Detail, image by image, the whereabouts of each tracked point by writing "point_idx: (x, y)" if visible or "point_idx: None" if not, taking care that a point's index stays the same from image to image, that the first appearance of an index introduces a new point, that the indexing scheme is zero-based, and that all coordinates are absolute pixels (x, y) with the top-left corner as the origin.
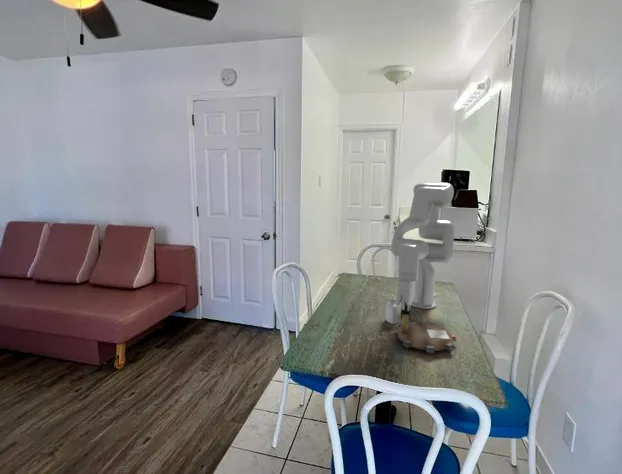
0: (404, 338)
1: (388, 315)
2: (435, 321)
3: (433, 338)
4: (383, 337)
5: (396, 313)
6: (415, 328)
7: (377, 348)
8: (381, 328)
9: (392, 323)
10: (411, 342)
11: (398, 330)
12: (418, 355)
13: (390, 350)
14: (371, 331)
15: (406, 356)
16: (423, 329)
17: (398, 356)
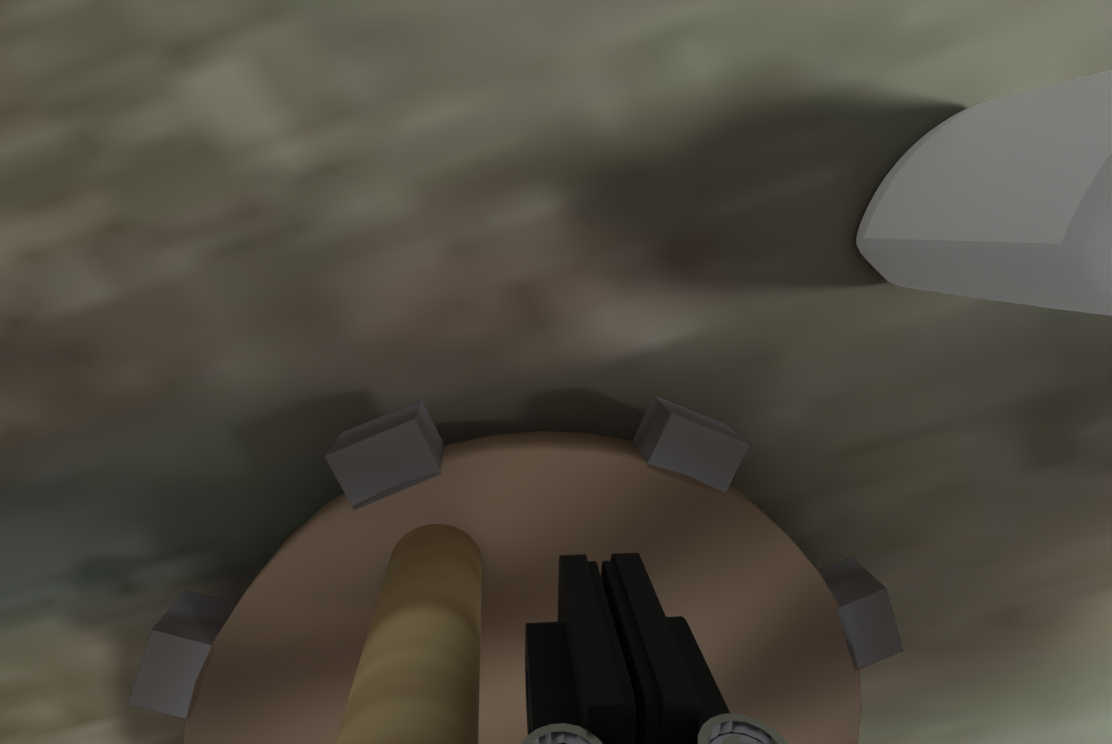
0: (239, 622)
1: (973, 154)
2: (1102, 642)
3: None
4: (386, 260)
5: (1006, 298)
6: None
7: (17, 293)
8: (651, 142)
9: (857, 242)
10: (187, 721)
11: (454, 477)
12: None
13: (88, 451)
14: (477, 33)
15: (78, 637)
16: None
17: (11, 570)
